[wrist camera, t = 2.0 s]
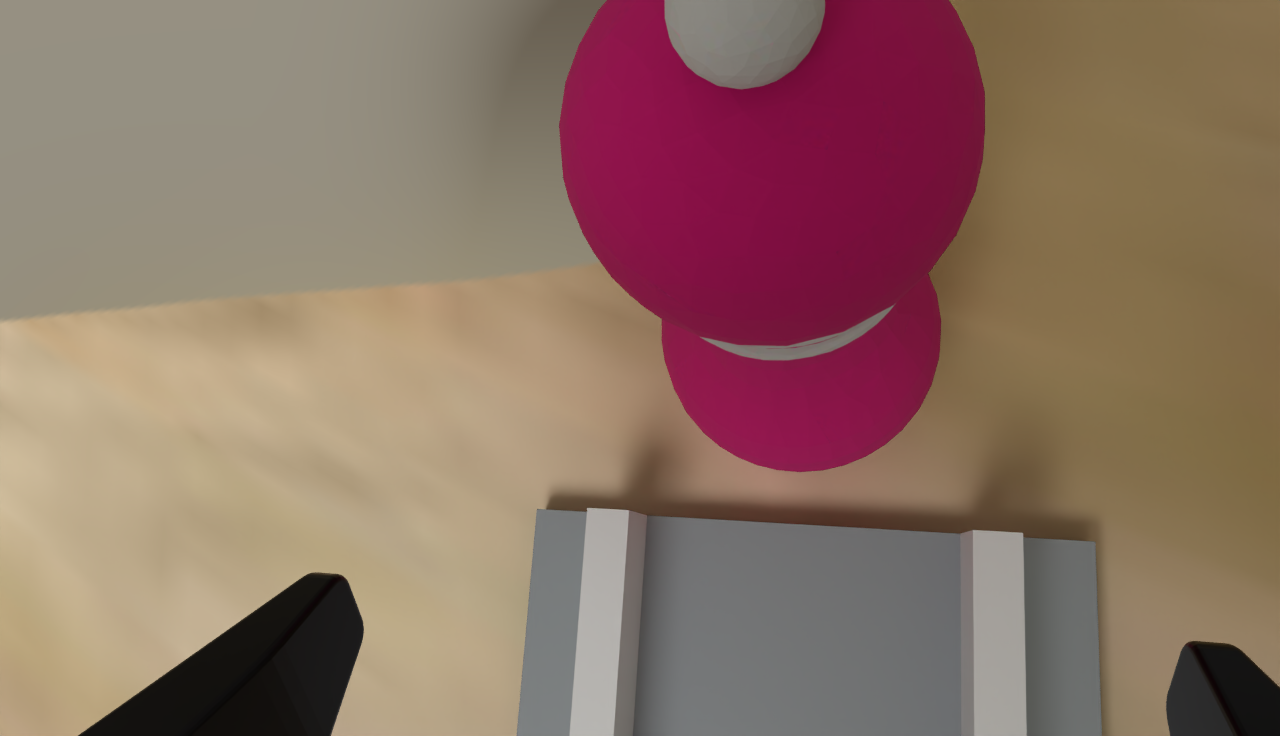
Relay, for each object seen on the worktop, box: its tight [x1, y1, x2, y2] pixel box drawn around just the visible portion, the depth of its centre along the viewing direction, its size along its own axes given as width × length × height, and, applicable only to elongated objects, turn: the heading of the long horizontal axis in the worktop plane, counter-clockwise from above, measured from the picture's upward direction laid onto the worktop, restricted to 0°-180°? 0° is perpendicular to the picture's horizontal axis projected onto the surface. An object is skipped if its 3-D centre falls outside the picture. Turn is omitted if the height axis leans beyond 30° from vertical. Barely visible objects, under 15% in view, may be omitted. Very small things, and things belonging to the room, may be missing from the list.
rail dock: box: [517, 508, 1102, 736], centre depth 25 cm, size 10×16×3 cm, turn 86°
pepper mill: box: [559, 0, 985, 472], centre depth 19 cm, size 7×7×20 cm
